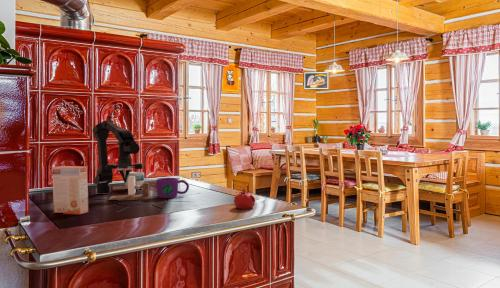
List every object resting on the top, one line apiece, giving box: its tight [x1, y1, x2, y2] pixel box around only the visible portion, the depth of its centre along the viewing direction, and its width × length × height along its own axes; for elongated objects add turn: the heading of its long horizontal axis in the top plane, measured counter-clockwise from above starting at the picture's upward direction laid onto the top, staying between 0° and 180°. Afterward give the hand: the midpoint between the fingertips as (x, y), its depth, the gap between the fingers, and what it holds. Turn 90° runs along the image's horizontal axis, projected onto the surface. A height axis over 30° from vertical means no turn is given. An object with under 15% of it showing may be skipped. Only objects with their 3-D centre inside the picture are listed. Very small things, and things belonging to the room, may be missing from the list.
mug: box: [156, 177, 190, 200], centre depth 214 cm, size 17×11×10 cm, turn 104°
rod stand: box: [108, 181, 151, 201], centre depth 211 cm, size 20×10×8 cm, turn 100°
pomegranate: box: [233, 187, 256, 210], centre depth 180 cm, size 10×10×9 cm
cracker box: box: [51, 165, 89, 215], centre depth 175 cm, size 14×6×21 cm, turn 74°
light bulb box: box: [124, 171, 145, 189], centre depth 243 cm, size 11×7×11 cm, turn 58°
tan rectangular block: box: [127, 176, 136, 195], centre depth 211 cm, size 3×7×9 cm, turn 10°
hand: (125, 182), depth 210 cm, fingers closed
